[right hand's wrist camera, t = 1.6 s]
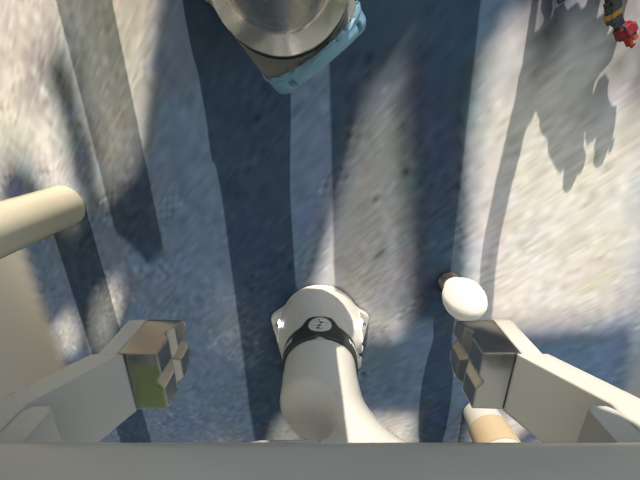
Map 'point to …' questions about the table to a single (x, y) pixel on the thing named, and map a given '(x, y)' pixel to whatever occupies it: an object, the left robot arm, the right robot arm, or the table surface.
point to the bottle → (37, 217)
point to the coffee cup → (488, 426)
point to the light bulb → (462, 297)
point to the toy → (618, 22)
